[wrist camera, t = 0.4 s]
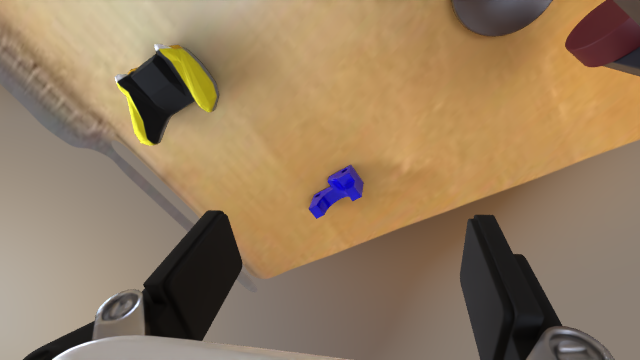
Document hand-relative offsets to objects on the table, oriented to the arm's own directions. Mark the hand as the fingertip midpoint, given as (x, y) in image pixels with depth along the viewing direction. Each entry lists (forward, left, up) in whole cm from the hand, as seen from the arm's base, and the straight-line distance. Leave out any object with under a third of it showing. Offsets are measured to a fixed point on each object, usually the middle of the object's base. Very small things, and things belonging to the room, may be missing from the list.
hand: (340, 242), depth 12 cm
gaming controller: (+18, -22, -31) cm, 42 cm away
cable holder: (+16, +5, -31) cm, 35 cm away
